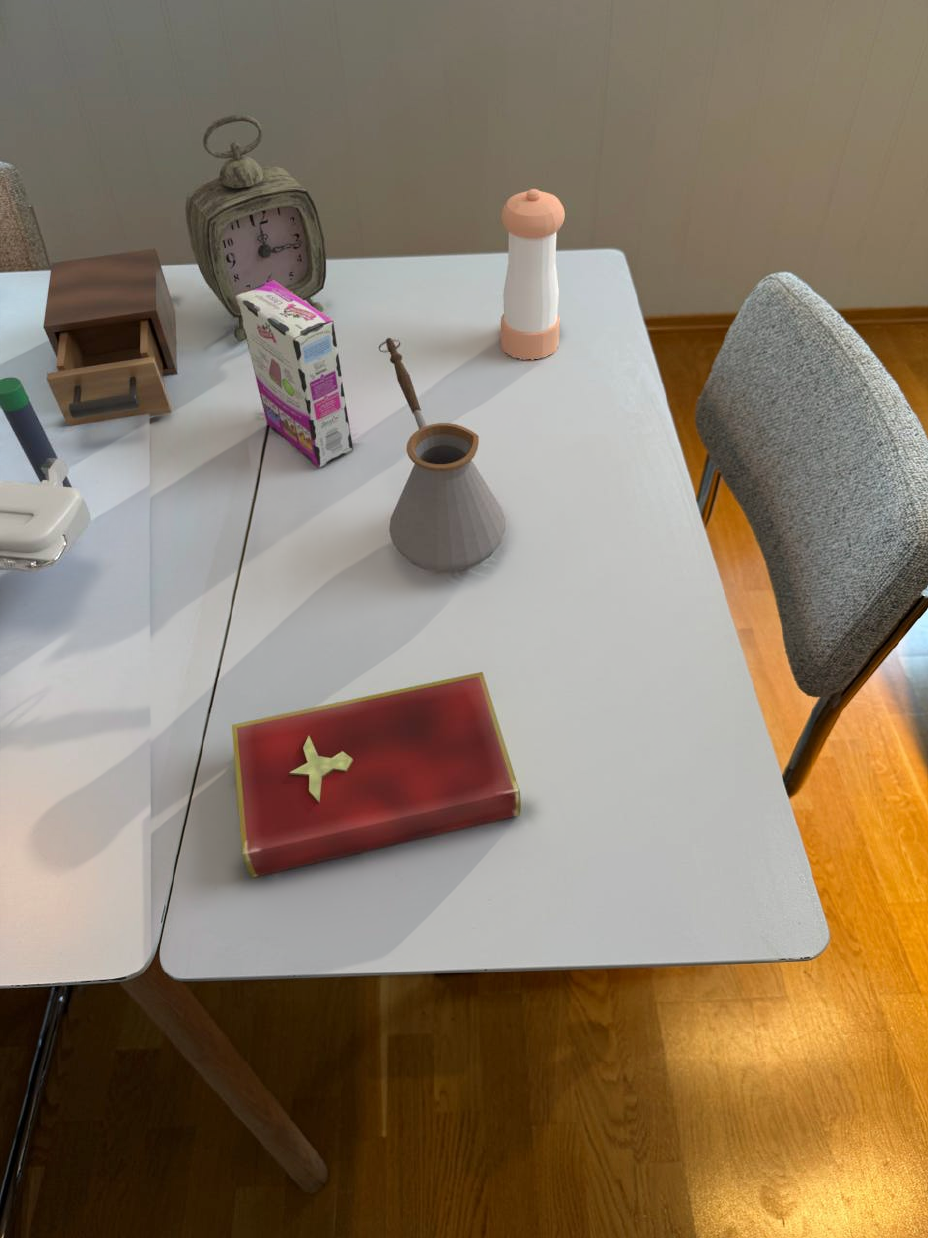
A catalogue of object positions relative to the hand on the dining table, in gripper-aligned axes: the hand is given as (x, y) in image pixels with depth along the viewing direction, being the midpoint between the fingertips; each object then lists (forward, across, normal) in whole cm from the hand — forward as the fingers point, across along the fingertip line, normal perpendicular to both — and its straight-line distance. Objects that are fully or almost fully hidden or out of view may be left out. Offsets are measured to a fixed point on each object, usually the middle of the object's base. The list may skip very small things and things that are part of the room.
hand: (14, 459), depth 88 cm
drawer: (+20, 0, +8) cm, 22 cm away
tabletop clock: (+41, -12, +9) cm, 43 cm away
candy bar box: (+17, -24, +9) cm, 31 cm away
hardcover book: (-25, -41, +9) cm, 49 cm away
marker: (+4, 0, +9) cm, 10 cm away
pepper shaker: (+38, -46, +9) cm, 61 cm away
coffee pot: (+7, -40, +9) cm, 41 cm away
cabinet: (+32, +5, +9) cm, 33 cm away
